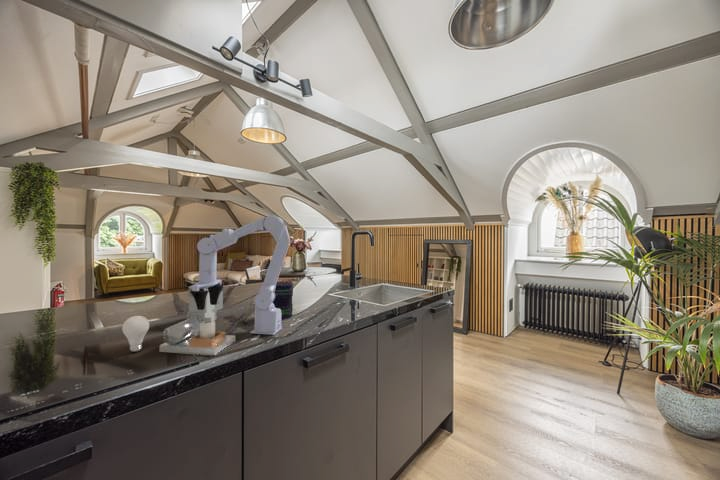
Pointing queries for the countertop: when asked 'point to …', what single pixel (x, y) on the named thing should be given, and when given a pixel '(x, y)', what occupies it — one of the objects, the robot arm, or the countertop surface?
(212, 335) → the white bottle
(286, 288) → the storage jar
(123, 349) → the countertop surface
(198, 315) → the circuit breaker
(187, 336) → the white rectangular base assembly
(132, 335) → the light bulb
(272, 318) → the robot arm
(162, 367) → the countertop surface
